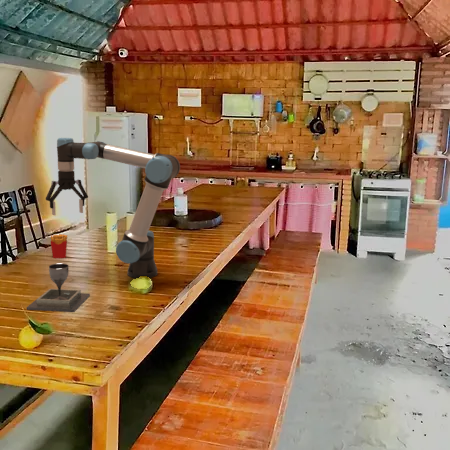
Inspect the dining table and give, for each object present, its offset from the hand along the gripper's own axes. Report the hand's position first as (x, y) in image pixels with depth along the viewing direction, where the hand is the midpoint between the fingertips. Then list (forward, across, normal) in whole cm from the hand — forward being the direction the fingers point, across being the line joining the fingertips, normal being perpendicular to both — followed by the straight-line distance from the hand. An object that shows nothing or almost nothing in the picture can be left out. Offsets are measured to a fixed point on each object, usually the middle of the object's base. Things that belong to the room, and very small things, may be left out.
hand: (67, 213), depth 252 cm
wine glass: (+31, +16, +33) cm, 48 cm away
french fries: (+32, -7, -37) cm, 49 cm away
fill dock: (+32, +17, +34) cm, 50 cm away
